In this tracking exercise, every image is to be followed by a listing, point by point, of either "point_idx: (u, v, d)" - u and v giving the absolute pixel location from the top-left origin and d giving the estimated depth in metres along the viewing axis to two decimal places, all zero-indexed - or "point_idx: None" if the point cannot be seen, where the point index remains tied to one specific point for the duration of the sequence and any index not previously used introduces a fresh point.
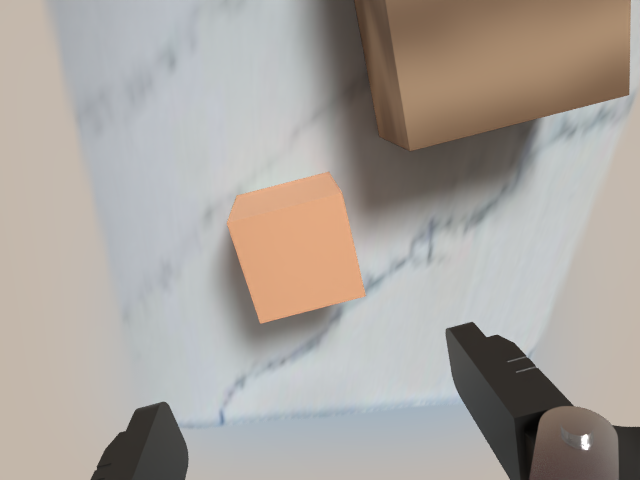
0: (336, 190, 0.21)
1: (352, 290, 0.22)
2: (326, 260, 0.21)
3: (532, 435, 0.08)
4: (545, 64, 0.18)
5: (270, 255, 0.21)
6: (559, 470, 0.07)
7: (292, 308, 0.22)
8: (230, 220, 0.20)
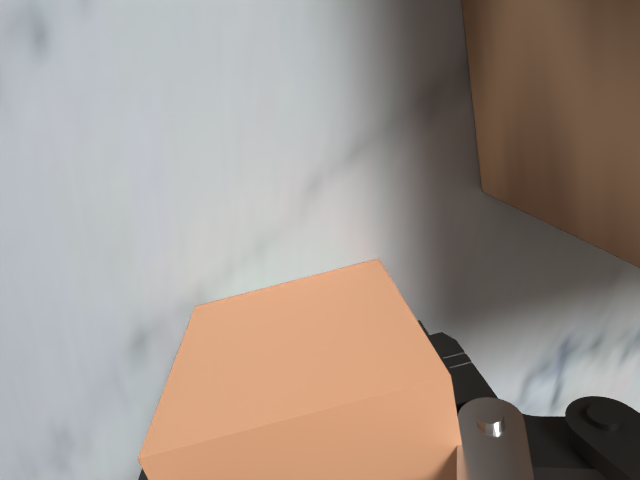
0: (426, 353, 0.08)
1: None
2: None
3: None
4: None
5: None
6: (467, 455, 0.08)
7: None
8: (150, 444, 0.08)
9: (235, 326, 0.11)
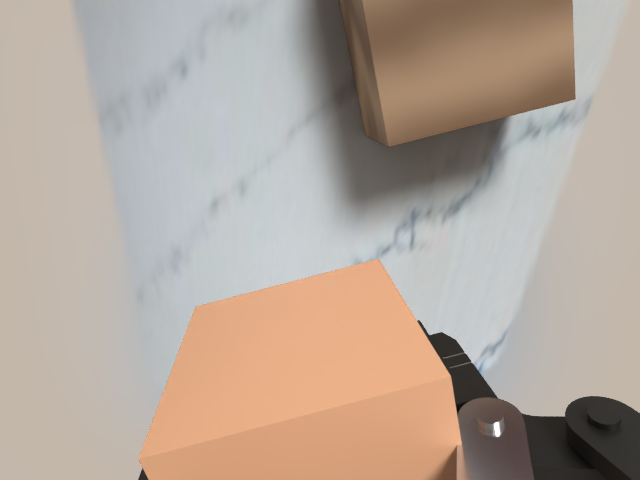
0: (426, 354, 0.08)
1: None
2: None
3: None
4: (502, 73, 0.22)
5: None
6: (467, 454, 0.08)
7: None
8: (151, 444, 0.08)
9: (235, 326, 0.11)
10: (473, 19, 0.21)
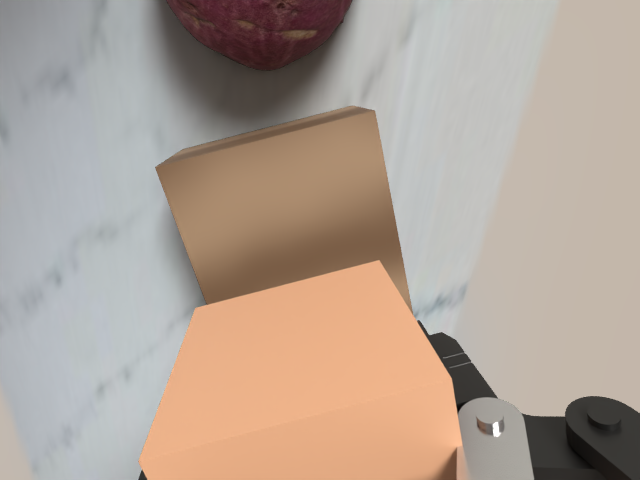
0: (427, 356, 0.08)
1: None
2: None
3: None
4: None
5: None
6: (467, 455, 0.08)
7: None
8: (151, 446, 0.08)
9: (235, 328, 0.11)
10: None
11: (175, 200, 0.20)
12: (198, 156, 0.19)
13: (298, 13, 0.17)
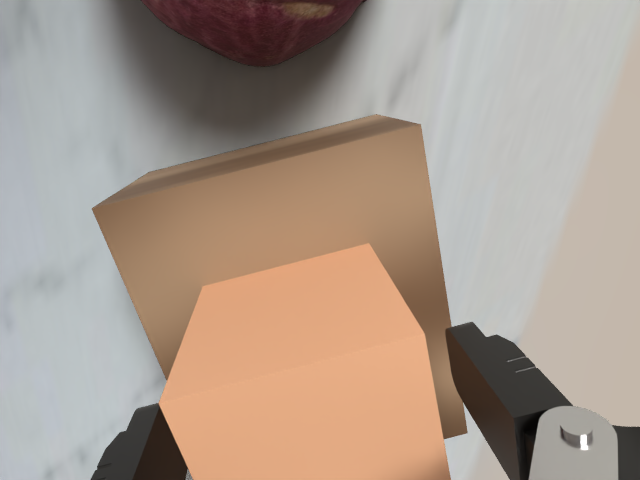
0: (405, 317, 0.09)
1: None
2: (381, 464, 0.10)
3: (531, 435, 0.08)
4: None
5: (259, 462, 0.09)
6: (558, 470, 0.07)
7: None
8: (169, 392, 0.09)
9: (239, 301, 0.12)
10: None
11: (124, 255, 0.13)
12: (157, 192, 0.13)
13: None
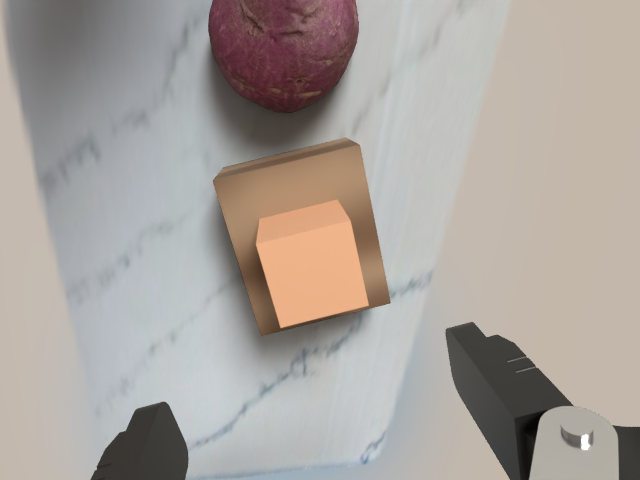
0: (345, 218, 0.25)
1: (357, 300, 0.26)
2: (336, 275, 0.25)
3: (532, 435, 0.08)
4: None
5: (290, 271, 0.25)
6: (559, 470, 0.07)
7: (307, 315, 0.26)
8: (258, 242, 0.25)
9: (279, 221, 0.28)
10: None
11: (224, 203, 0.29)
12: (241, 174, 0.29)
13: (309, 84, 0.27)
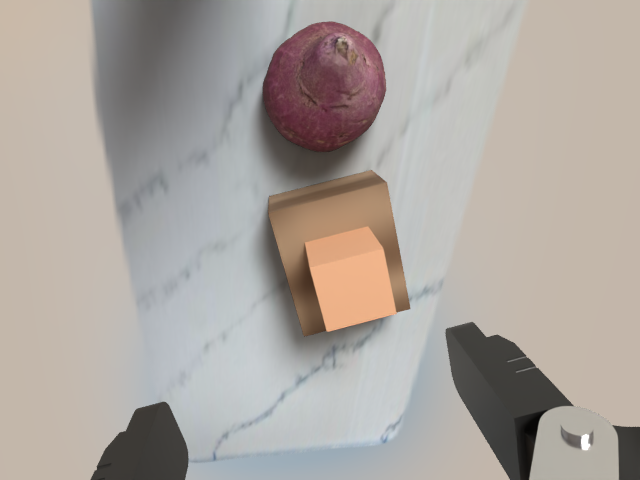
0: (378, 245, 0.32)
1: (388, 310, 0.33)
2: (371, 290, 0.32)
3: (532, 435, 0.08)
4: None
5: (335, 288, 0.32)
6: (559, 470, 0.07)
7: (348, 321, 0.33)
8: (311, 265, 0.31)
9: (322, 245, 0.35)
10: None
11: (277, 230, 0.36)
12: (291, 207, 0.35)
13: (348, 137, 0.33)
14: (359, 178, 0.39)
